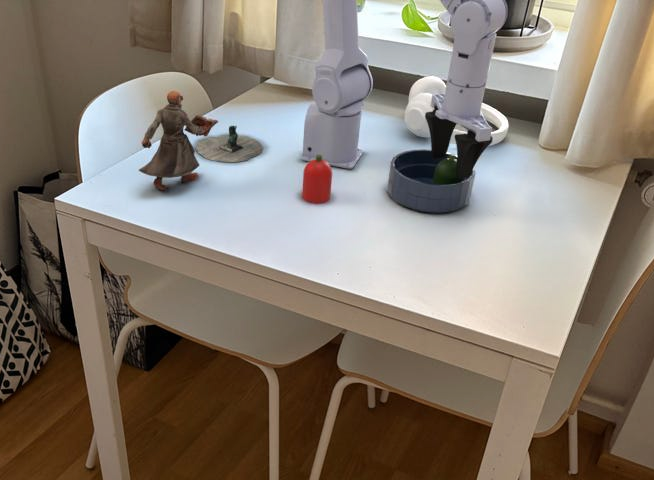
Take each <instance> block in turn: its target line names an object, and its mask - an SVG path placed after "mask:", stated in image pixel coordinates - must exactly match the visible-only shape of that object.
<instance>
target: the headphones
mask: <svg viewBox="0 0 654 480" xmlns="http://www.w3.org/2000/svg"><path fill="white" fill-rule="evenodd" d="M446 85H447V84H445V82H444V81H443V80H442V79H441V78H439V77H437V76H431V75H429V76H425V77H422V78H420V79H418V80H417V81H415V82H414V83H413V84H412V86H411V87H410V90H409V93H408V103H407V105H406V108H405V111H404V115H403V116H404V123H405V126H406V128H407V129H408V130H409V131H410V132H411V133H412V134H413V135H415V136H417V137H420V138H431V137H430V131H429V127H428V123H427V121H426V118H425V113H426V112H432V111H433V110H434V108H432V107H431V100H432V95H433V94H442V93H443V94H445V91H446ZM481 113H482V114H483V116H484V118H485V120H486V121H488V122H490V123H491V124H493V125H494V126H495V127H496V128H497V130H494V131H492V132H491V136H492V137H493V140H492V143H491V144H490V145H489V146H493V145H496V144H497V145H498V144H499V143H501V142H502V141H503V140H504V139H505V138H506V137H507V134H508V132H509V126H510V125H509V124H510V123H509V121H508V118H507V117H506V116H505V115H504V114H502V113H501V112H500V111H498V110H497V109H496V108H493V107H492V106H490V105H489V104H486V103H483V102H482V106H481ZM458 134H467V131H461V130H460V129H456V128H454V131H453V133H452V136H451V139H450V143H449V144H452V145H453V144H455V145H456V141H455V135H458ZM489 146H488V147H489Z"/></svg>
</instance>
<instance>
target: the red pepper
mask: <svg viewBox="0 0 654 480" xmlns="http://www.w3.org/2000/svg"><path fill="white" fill-rule="evenodd" d="M302 175H303V176H302V189H301V190H302V191H301V197H302V199H303V200H304V201H306V202H307V203H310V204H325V203H327V202H329V201H330V199H331V193H332V181H333V170H332V167H331V165H329V164H328V163H327V162H326V161H324V160H322V155H316V159H314V160H312V161H310V162H309V161H308V162H307V164H306V165H304V169H303V174H302Z"/></svg>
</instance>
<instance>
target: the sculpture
mask: <svg viewBox="0 0 654 480" xmlns="http://www.w3.org/2000/svg"><path fill="white" fill-rule="evenodd" d="M264 148H265V147H264V145H263V144H262V143H261V142H259V140H257V139H256V138H251V137H249V136H246V135H240V134H239V133H238V132H237V125H230V126H228V134H222V135H219V136H206V137H204V138H201V139H199V140H198V141H197V142H196V144H195V146H194V150H195V151H196V153H197V154H199V155H201V157H203V158H204V159H206V160H209V161H212V162H223V163H239V162H244V161H249V160H250V159H251V158H253V157H257V156H259V155H260V154H263V150H264Z"/></svg>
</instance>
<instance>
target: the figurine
mask: <svg viewBox="0 0 654 480" xmlns="http://www.w3.org/2000/svg"><path fill="white" fill-rule="evenodd" d="M166 100H167V102H168V104H166V105H165V106H164V107H163V108H161V109H159V110H157V112H156V116H155V118H154V120H153V121H152V123H151V124H150V125H149V127H148V128H147V130H146V132H145V133H144V137H143V139H142V140H141V146H142V147H143V149H150V148H151V147H152V146H153V144H152V142H151V140H152V139H153V137H154V135H155V133H156V131H157V129H158V128H159V127H160V125H161V128H162V130H163V134H162V136H161V138H160V139H159V140H160V141H159V145H158V147H157V150H156V152H155V153H154V154H153V156H152V158H151V160H149V162H148V163H147V164H145V165H144V166H142V167H141V168H139V169H138V172H140V173H141V174H145V175H147V176H150V177H154V180H153V183H152V185H153V186H154V187H155V189H156V190H160V191H166V190H167V187H166V185H165V184H163V183H164V182H163V179H167V178H168V179H172V178H180V181H181V182H182V183H187V182H192V181H195V180H197V179H198V178H199V174H198V172H194V171H195V170H196V169H198V168H199V167H200V163H199V161H198V159H197V157H196V154H195V153H196V149H195V147H194V146H193V144H192V143H191V141H190V138H189V137H188V135H187V134H186V133H185V132H188V133H189V134H191V135H193V136H195V137H198V136H199V137H201V136H203V137H208V135H209V134H210V132H211V130H212V129H213V128H214V126H215V125H217V124H218V123H219V120H218V119H214V118H213V119H212V118H209V117H208V118H207V117H206V116H203V115H200V114H197V115H195V116H194V117H193V118H192V120H190V119H189V116H188V115H189V114H188V113H186V111H184V110H183V109H182V108H183V105H182V101H183V100H184V97H183V95H181V93H180V92H179V91H177V90H171V91H169V92H168V93H167V95H166ZM184 131H185V132H184Z"/></svg>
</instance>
